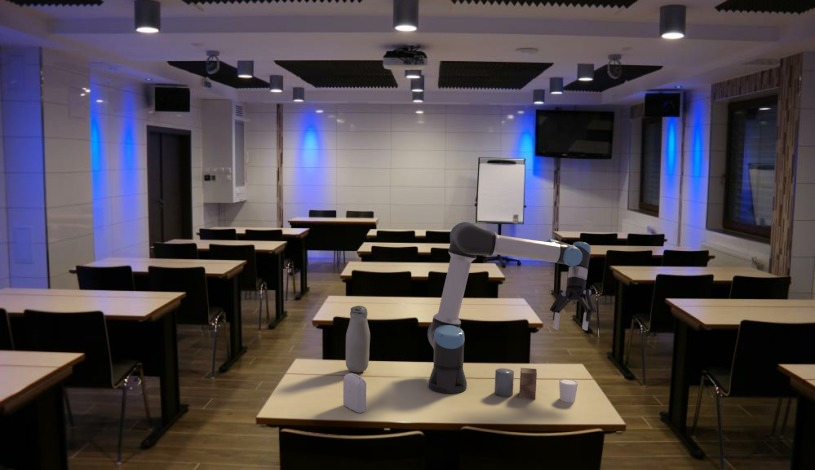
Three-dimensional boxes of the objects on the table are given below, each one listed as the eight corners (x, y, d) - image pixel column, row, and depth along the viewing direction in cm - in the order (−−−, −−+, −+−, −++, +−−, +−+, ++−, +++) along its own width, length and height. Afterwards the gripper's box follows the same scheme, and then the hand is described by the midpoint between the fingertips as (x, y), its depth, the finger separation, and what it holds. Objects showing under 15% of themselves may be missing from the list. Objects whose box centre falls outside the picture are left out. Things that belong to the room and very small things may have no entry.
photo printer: (341, 405, 231) (341, 372, 230) (351, 402, 234) (351, 369, 232) (357, 414, 223) (358, 380, 222) (367, 411, 226) (368, 377, 224)
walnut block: (519, 398, 243) (520, 372, 242) (519, 392, 249) (520, 367, 248) (535, 399, 242) (536, 373, 241) (535, 393, 248) (536, 368, 247)
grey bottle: (344, 375, 263) (345, 308, 260) (346, 367, 273) (347, 303, 270) (368, 375, 263) (369, 309, 260) (369, 367, 273) (371, 303, 270)
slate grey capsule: (494, 396, 244) (495, 373, 243) (494, 389, 251) (495, 367, 250) (512, 397, 243) (513, 375, 242) (512, 391, 250) (513, 369, 249)
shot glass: (556, 401, 241) (557, 383, 240) (559, 395, 247) (560, 377, 247) (575, 404, 238) (576, 385, 238) (577, 398, 245) (578, 380, 244)
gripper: (609, 281, 257) (602, 332, 250) (556, 283, 275) (549, 331, 268) (599, 274, 252) (592, 326, 245) (546, 277, 270) (538, 325, 264)
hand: (569, 329), depth 257 cm, fingers open, 13 cm apart
